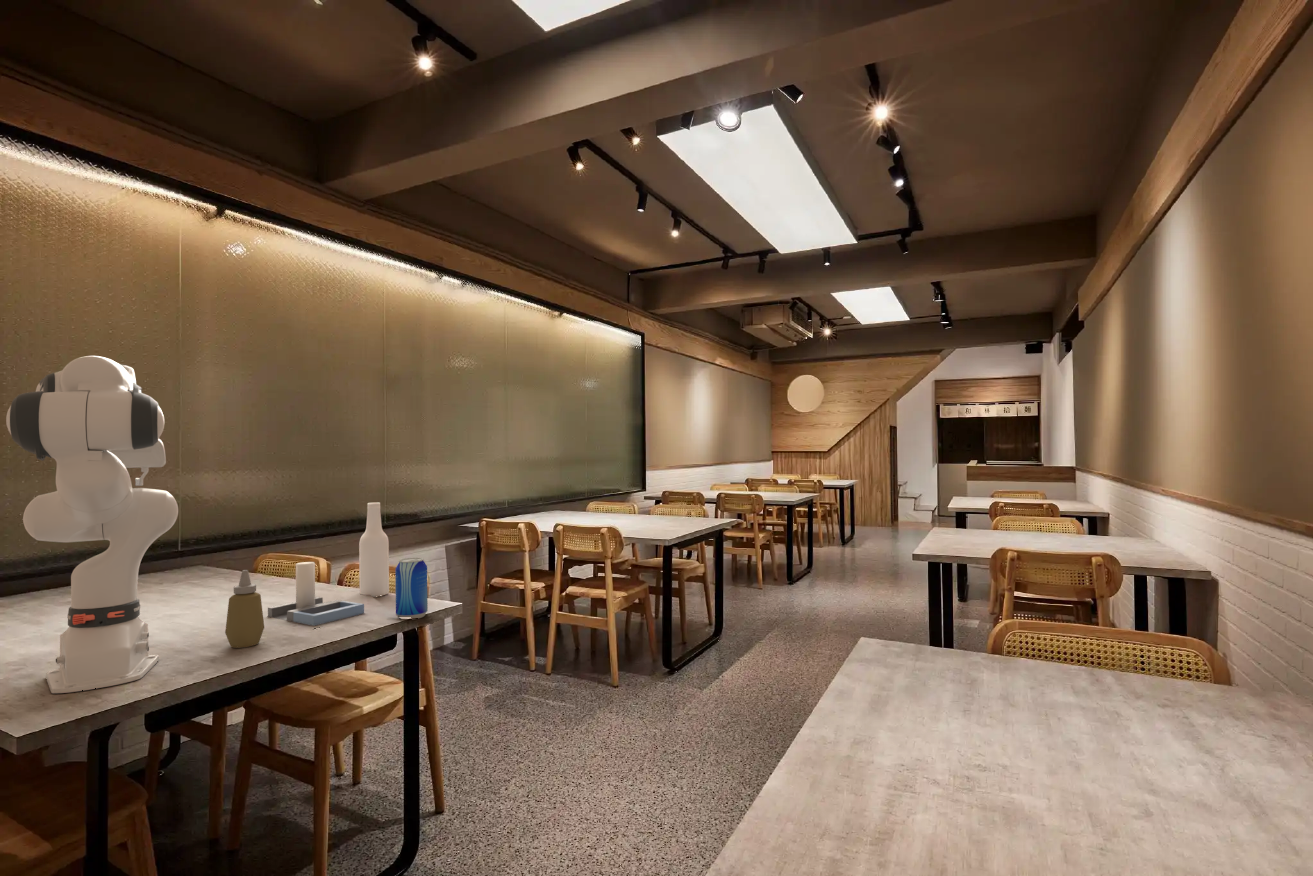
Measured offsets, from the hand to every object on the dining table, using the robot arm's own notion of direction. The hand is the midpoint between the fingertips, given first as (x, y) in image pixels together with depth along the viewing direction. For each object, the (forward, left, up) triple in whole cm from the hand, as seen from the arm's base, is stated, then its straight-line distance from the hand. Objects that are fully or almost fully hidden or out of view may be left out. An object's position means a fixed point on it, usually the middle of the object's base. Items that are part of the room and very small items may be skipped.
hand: (115, 486), depth 162 cm
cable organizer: (-3, -44, -39) cm, 59 cm away
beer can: (-18, -66, -39) cm, 79 cm away
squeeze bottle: (-21, -26, -39) cm, 51 cm away
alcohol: (+19, -64, -39) cm, 77 cm away
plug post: (+1, -42, -38) cm, 56 cm away
